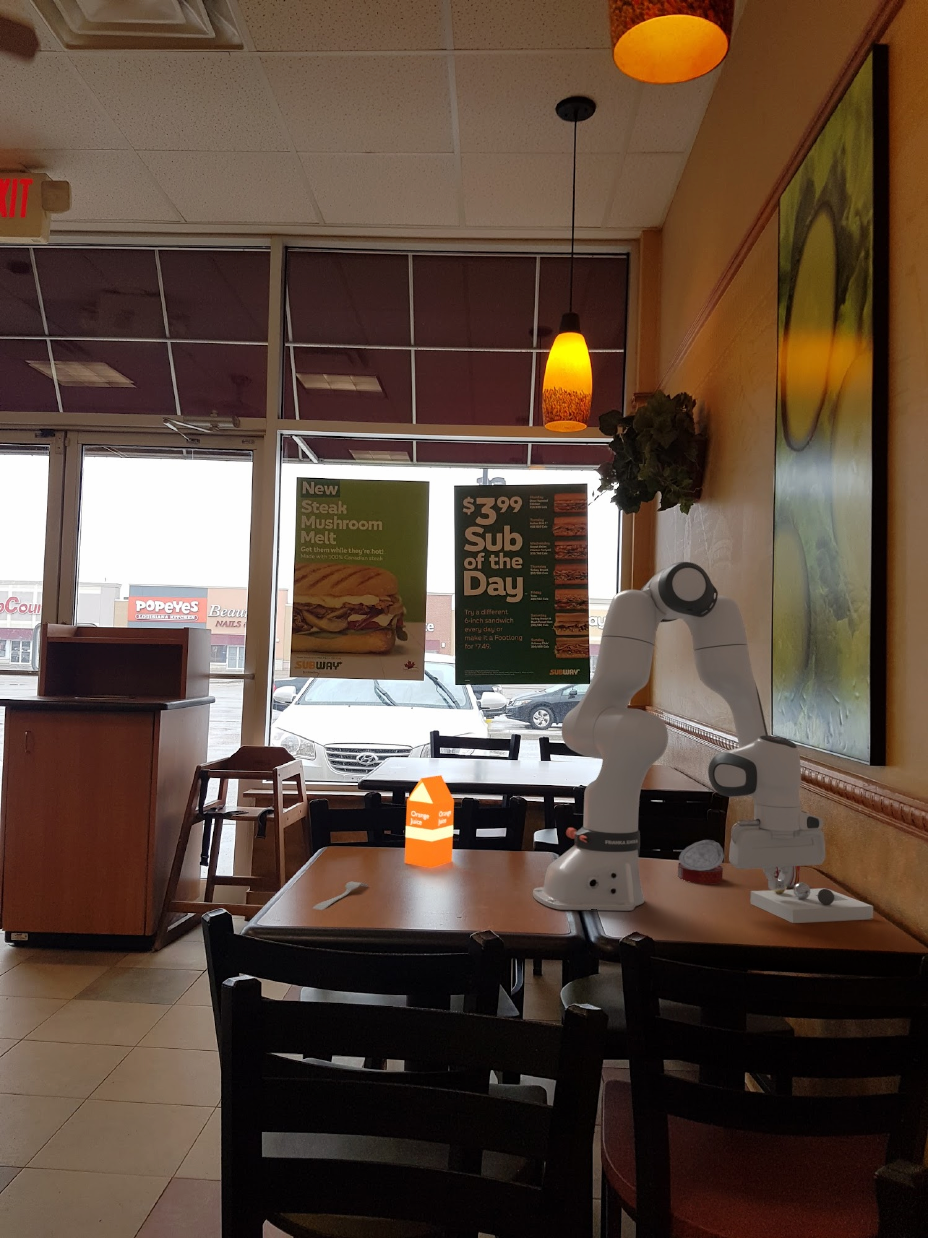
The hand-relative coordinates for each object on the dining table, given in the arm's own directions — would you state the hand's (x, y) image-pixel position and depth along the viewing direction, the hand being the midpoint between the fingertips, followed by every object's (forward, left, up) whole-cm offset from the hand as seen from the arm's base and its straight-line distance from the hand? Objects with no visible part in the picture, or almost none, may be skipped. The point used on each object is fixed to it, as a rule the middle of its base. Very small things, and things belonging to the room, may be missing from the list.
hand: (777, 889), depth 179 cm
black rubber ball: (+7, -6, 0) cm, 9 cm away
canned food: (-1, +28, -5) cm, 28 cm away
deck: (+7, -1, -4) cm, 8 cm away
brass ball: (+3, +4, 0) cm, 5 cm away
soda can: (+15, +20, -5) cm, 25 cm away
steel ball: (+5, -1, 0) cm, 5 cm away
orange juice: (-59, +51, -5) cm, 78 cm away
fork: (-83, +23, -5) cm, 86 cm away
